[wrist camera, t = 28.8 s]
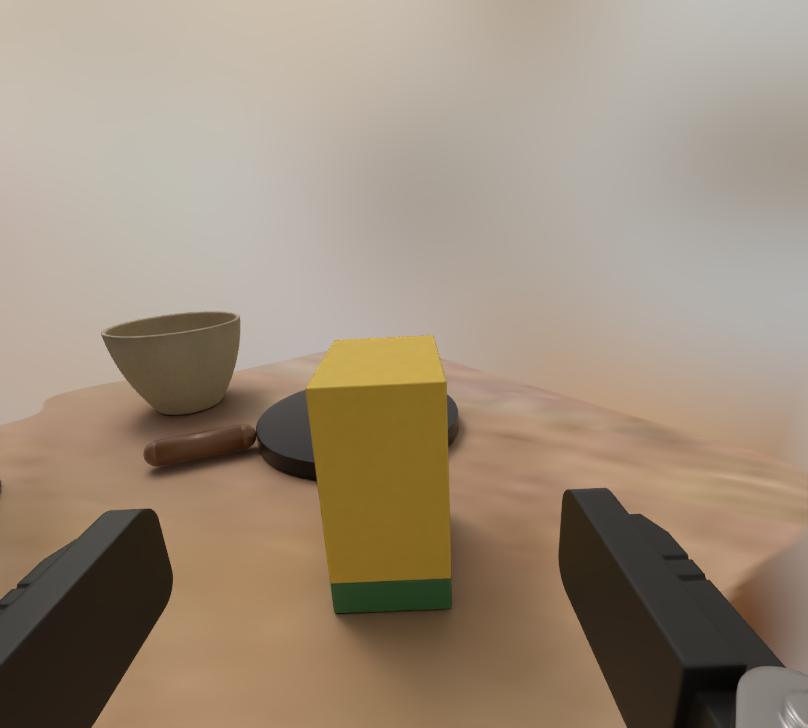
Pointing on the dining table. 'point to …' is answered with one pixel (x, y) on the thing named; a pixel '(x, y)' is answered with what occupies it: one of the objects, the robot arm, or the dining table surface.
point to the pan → (263, 439)
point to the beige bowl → (177, 358)
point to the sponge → (383, 473)
